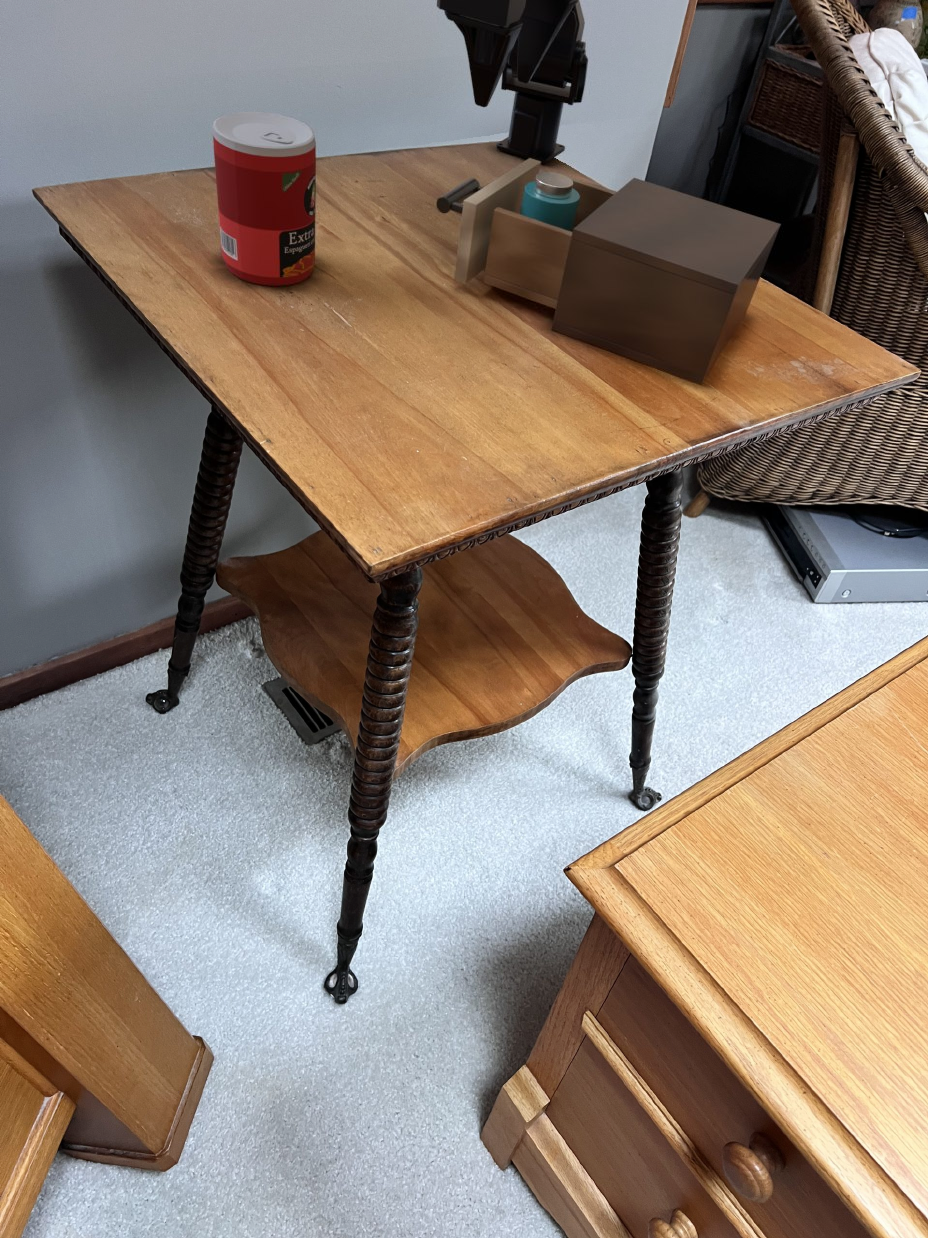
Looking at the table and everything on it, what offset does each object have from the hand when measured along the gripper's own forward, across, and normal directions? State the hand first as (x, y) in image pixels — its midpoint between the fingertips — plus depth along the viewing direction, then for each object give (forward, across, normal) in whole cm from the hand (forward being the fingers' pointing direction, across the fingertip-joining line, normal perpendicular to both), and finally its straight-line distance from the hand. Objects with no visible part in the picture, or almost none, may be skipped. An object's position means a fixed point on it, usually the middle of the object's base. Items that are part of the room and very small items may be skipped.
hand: (502, 93), depth 79 cm
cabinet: (+11, +9, +21) cm, 25 cm away
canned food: (+11, +22, -10) cm, 27 cm away
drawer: (+11, +9, +8) cm, 16 cm away
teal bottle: (+9, +9, +9) cm, 16 cm away
